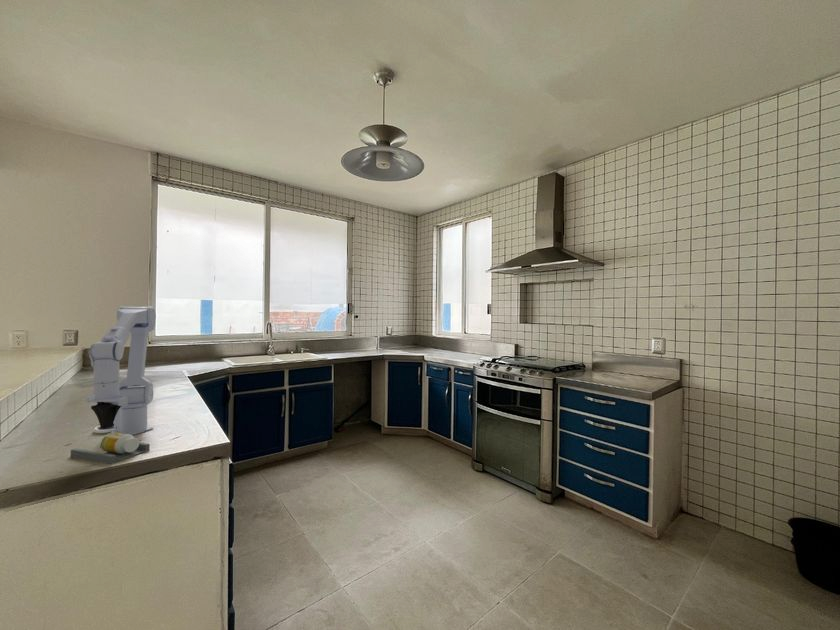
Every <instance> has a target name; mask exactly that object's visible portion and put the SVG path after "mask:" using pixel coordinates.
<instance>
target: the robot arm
mask: <svg viewBox="0 0 840 630" xmlns="http://www.w3.org/2000/svg"><path fill="white" fill-rule="evenodd" d="M156 316H157V315H156V310H155V308H154V307H153V306H151V305H150V306H123V305H121V306H119V307H118V309H117V310H116V320H117V323H116V324H115V326H112V327H110V328H109V329H107V331H106V332H105V333H104V335H103V336H102V337H101V339H100V340H99V341H95V342H94V343H92V344H91V345H90V347H89V351H88V356H89V359H90V365H91V368H93V394H91V395H87V396H86V395H85V396H86V401H85V402H86V403H96V405H91V407H90V408H91V410H92V411H93V412H94V414H95V415H96V417H97V420H98V423H99V427H100V429H102V430H106V429H110V428H113V431H111V432H110V433H113V432H115V433H122V434H129V435H132V436H134V435H137V434H141V433H144V432H147V431H150V430H153V429H154V427H152V426H148V405H149V404H150V403H152V402H153V399H154V384H153V382H152V381H151V380H149V379H148V378H146V377H145V369H146V359H147V351H148V349H147V348H148V341H149V340H148V339H149V334H150V333H151V332H152V331H154V330H155V327H156V318H157V317H156ZM129 339H130V346H129V352H128V363H127V370H126V378H125V379H122V381H120V360H122V358H123V357H124V352H125V345H126V344H127V342H128V340H129Z"/></svg>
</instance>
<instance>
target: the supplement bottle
mask: <svg viewBox="0 0 840 630" xmlns="http://www.w3.org/2000/svg"><path fill="white" fill-rule="evenodd" d="M139 442H140V440H139V439H138V438H136V437H135V436H134V435H129V434H122V433H115V432H113V433H111V432H108V433H107V434H106V435H104V436H103V438H102V439H101V440H100V443H99V447H100V449H101V450H102V451H103V452H104V451H105V452H113V453H119V454H125V453H127V452H128V453H130V452H133V451H135V450H136V449H137V448H138V446H139Z"/></svg>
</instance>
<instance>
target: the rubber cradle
mask: <svg viewBox="0 0 840 630" xmlns="http://www.w3.org/2000/svg"><path fill="white" fill-rule="evenodd" d="M150 447H151V446H150V443H146V442H140V441H139V446H138V448H137V449H136V450H135V451H133V452H130V453H128V452H127V453H125V454H119V453H113V452H107V451H105V452H98V451H91V450H88V449H87V450H86V449H80V448H73V449H70V458H75V459H82V460H87V461H91V462H92V461H93V462H99V463H105V464H109V463H111V464H110V465H113V464H115V463H118V461H119V462H121V461H124V460H126V459H129V458H132V457H135V456H138V455H140V453H141V454H144V453H146V451H147V452H149V451H150V449H151V448H150ZM148 450H149V451H148ZM143 452H144V453H143ZM112 463H113V464H112Z"/></svg>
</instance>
